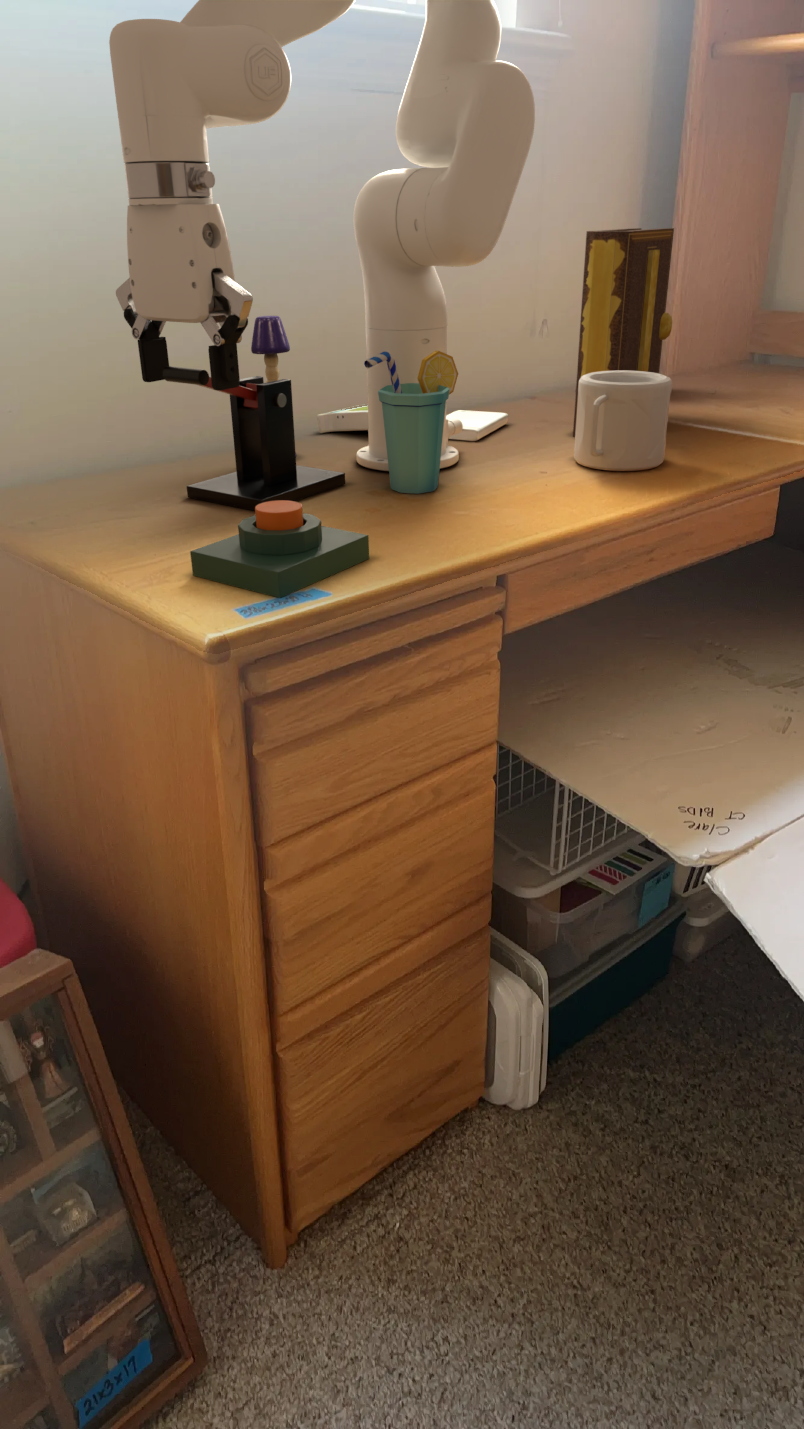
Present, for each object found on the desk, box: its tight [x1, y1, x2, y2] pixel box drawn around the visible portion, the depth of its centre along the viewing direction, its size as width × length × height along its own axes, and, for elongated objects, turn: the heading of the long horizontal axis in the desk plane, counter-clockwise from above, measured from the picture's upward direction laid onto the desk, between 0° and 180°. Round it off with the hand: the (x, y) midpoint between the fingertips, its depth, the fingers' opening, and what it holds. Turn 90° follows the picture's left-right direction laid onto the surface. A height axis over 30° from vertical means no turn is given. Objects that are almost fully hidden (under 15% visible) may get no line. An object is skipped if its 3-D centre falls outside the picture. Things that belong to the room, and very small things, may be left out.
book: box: [572, 227, 675, 437], centre depth 135 cm, size 22×8×25 cm, turn 151°
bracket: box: [186, 375, 346, 512], centre depth 107 cm, size 14×11×12 cm
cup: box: [363, 351, 459, 495], centre depth 106 cm, size 14×8×15 cm, turn 143°
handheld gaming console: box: [316, 405, 368, 434], centre depth 137 cm, size 11×3×15 cm
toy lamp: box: [250, 315, 297, 458], centre depth 120 cm, size 5×5×17 cm
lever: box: [163, 365, 258, 410], centre depth 101 cm, size 13×5×2 cm, turn 145°
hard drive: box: [446, 409, 509, 442], centre depth 138 cm, size 2×8×12 cm
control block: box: [189, 512, 370, 599], centre depth 85 cm, size 12×10×4 cm
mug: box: [573, 370, 673, 472], centre depth 116 cm, size 14×11×10 cm
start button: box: [254, 500, 304, 530], centre depth 84 cm, size 4×4×2 cm
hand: (190, 384), depth 97 cm, fingers open, 9 cm apart
